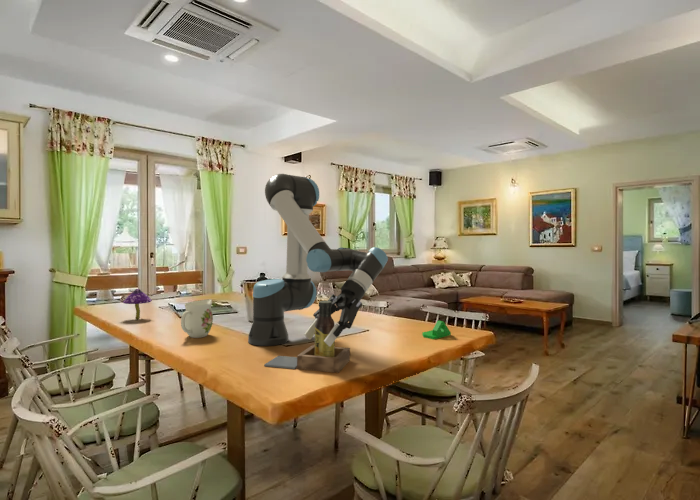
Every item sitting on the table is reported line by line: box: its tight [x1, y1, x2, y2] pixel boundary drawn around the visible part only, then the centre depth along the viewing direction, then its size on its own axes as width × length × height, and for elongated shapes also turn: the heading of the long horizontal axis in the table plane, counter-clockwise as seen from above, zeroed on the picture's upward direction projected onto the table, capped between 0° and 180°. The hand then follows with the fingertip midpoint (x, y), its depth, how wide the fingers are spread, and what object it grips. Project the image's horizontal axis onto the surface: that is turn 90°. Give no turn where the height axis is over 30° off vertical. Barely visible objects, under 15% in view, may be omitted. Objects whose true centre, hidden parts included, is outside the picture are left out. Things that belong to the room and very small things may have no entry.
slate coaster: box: [264, 355, 297, 370], centre depth 127 cm, size 10×10×1 cm
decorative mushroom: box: [122, 288, 152, 320], centre depth 195 cm, size 12×12×15 cm
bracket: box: [421, 320, 452, 341], centre depth 167 cm, size 12×8×7 cm, turn 133°
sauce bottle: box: [314, 300, 336, 357], centre depth 126 cm, size 6×6×20 cm
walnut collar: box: [296, 344, 351, 374], centre depth 126 cm, size 13×13×4 cm
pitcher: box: [180, 298, 214, 339], centre depth 162 cm, size 11×18×14 cm, turn 164°
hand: (316, 340), depth 124 cm, fingers open, 10 cm apart
